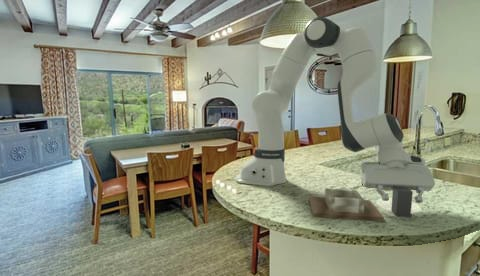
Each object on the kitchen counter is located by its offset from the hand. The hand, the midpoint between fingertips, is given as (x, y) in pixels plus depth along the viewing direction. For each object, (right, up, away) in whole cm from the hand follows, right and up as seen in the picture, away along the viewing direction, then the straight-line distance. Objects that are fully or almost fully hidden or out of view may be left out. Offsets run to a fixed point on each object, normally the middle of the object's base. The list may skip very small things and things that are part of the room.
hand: (402, 201), depth 84 cm
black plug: (0, -4, +1) cm, 4 cm away
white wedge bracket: (+4, -1, +31) cm, 31 cm away
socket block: (-17, -4, +5) cm, 18 cm away
